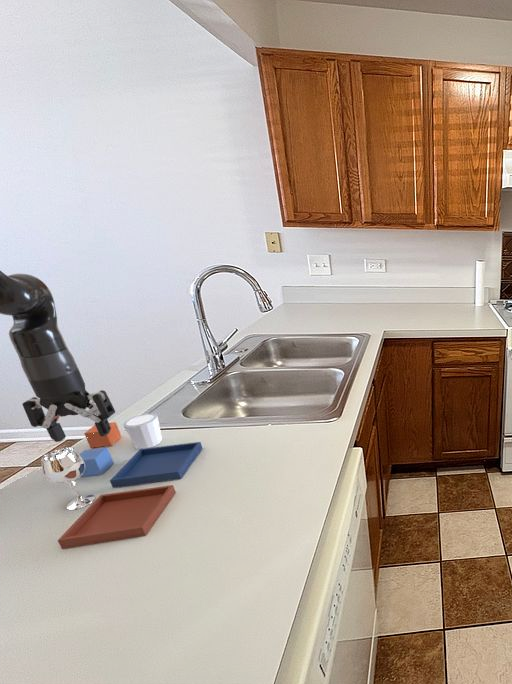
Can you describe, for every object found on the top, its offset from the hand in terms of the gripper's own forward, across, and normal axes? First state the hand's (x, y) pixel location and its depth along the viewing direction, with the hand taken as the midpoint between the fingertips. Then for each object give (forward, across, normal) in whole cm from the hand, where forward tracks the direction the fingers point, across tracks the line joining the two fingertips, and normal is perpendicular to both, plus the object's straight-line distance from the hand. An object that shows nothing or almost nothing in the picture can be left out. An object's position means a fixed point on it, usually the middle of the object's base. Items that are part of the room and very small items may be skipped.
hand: (83, 437), depth 89 cm
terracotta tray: (+9, -15, +19) cm, 26 cm away
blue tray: (+9, -14, +2) cm, 17 cm away
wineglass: (+9, -4, +12) cm, 15 cm away
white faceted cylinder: (+9, -6, -10) cm, 15 cm away
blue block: (+9, 0, 0) cm, 9 cm away
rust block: (+9, +5, -13) cm, 17 cm away
